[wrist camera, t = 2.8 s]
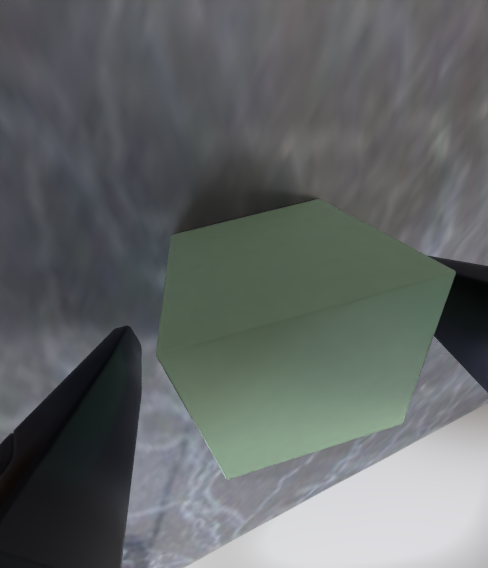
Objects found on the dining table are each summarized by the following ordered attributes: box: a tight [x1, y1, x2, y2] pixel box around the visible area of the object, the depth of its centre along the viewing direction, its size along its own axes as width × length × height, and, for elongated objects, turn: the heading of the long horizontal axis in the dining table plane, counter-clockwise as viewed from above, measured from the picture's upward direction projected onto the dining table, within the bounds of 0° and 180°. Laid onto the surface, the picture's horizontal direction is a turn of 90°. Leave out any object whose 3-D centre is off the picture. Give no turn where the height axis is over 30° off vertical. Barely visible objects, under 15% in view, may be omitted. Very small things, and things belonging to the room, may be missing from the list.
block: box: [156, 199, 456, 479], centre depth 7 cm, size 5×5×5 cm
